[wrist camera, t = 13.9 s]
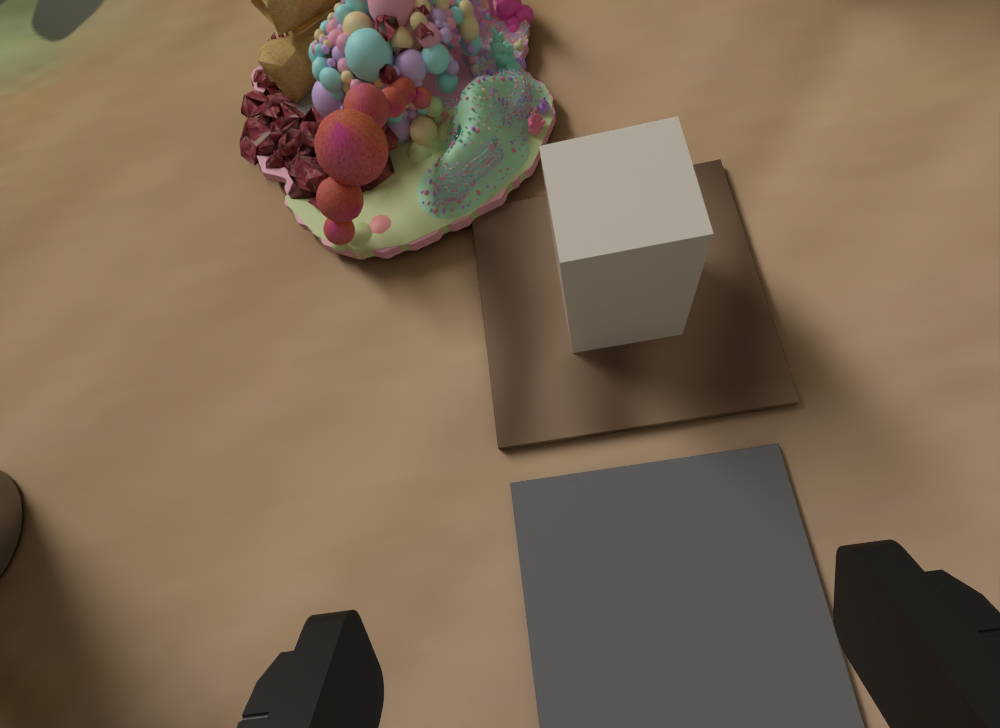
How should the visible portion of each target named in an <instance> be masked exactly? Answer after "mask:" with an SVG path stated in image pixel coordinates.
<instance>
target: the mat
mask: <svg viewBox="0 0 1000 728" xmlns="http://www.w3.org/2000/svg"><path fill="white" fill-rule="evenodd" d="M510 485H511V493H512V501H513V510H514V518H515V526H516V535H517V543H518V551H519V559H520V568H521V576H522V584H523V593H524V601H525V609H526V618H527V626H528V634H529V642H530V651H531V659H532V667H533V676H534V684H535V692H536V701H537V709H538V717H539V726H540V728H865V727H864V723H863V720H862V717H861V714H860V710H859V707H858V704H857V700H856V697H855V694H854V691H853V687H852V684H851V681H850V677H849V674H848V671H847V668H846V664H845V661H844V658H843V654H842V651H841V648H840V645H839V641H838V638H837V635H836V631H835V628H834V625H833V622H832V618H831V615H830V612H829V609H828V605H827V602H826V599H825V595H824V592H823V589H822V586H821V582H820V579H819V576H818V572H817V569H816V566H815V563H814V559H813V556H812V553H811V549H810V546H809V543H808V540H807V536H806V533H805V530H804V526H803V523H802V520H801V517H800V513H799V510H798V507H797V503H796V500H795V497H794V494H793V490H792V487H791V484H790V481H789V477H788V474H787V471H786V467H785V464H784V461H783V458H782V454H781V451H780V448H779V444H773V445H766V446H759V447H753V448H746V449H739V450H732V451H725V452H718V453H712V454H705V455H698V456H691V457H684V458H678V459H671V460H664V461H657V462H650V463H643V464H637V465H630V466H623V467H616V468H609V469H603V470H596V471H589V472H582V473H575V474H568V475H562V476H555V477H548V478H541V479H534V480H528V481H521V482H514V483H510Z"/></svg>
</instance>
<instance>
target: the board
mask: <svg viewBox="0 0 1000 728" xmlns="http://www.w3.org/2000/svg"><path fill="white" fill-rule="evenodd" d="M693 168H694V171H695V174H696V177H697V181H698V184H699V187H700V191H701V194H702V197H703V200H704V204H705V207H706V210H707V214H708V217H709V220H710V224H711V227H712V230H713V233H714V234H713V237H712V241H711V244H710V247H709V250H708V254H707V257H706V260H705V263H704V267H703V270H702V273H701V276H700V279H699V283H698V286H697V289H696V292H695V296H694V299H693V302H692V305H691V309H690V312H689V315H688V318H687V322H686V325H685V328H684V331H683V334H682V335H676V336H670V337H664V338H659V339H653V340H647V341H641V342H635V343H629V344H623V345H618V346H612V347H606V348H600V349H594V350H588V351H582V352H577V353H572V347H571V341H570V336H569V330H568V324H567V319H566V313H565V307H564V302H563V296H562V290H561V285H560V279H559V273H558V268H557V262H556V255H555V249H554V242H553V235H552V229H551V222H550V216H549V209H548V202H547V196H546V195H543V196H539V197H534V198H529V199H524V200H519V201H514V202H509V203H504V204H503V205H502V206H499V207H496V208H495V209H493V210H491V211H489V212H486V213H484V214H483V215H481V216H478V217H476V218H475V219H474V220H473V221H472V225H473V233H474V242H475V251H476V259H477V268H478V277H479V286H480V294H481V303H482V312H483V320H484V329H485V338H486V346H487V355H488V364H489V372H490V381H491V390H492V398H493V407H494V416H495V424H496V433H497V442H498V448H499V450H506V449H512V448H519V447H525V446H532V445H538V444H545V443H551V442H558V441H564V440H571V439H577V438H584V437H590V436H597V435H603V434H610V433H616V432H623V431H629V430H636V429H642V428H649V427H655V426H662V425H668V424H675V423H681V422H688V421H694V420H701V419H707V418H714V417H720V416H727V415H733V414H740V413H746V412H753V411H759V410H766V409H772V408H779V407H785V406H792V405H797V404H798V403H799V402H800V400H799V397H798V394H797V391H796V388H795V385H794V382H793V379H792V376H791V373H790V370H789V367H788V364H787V361H786V358H785V355H784V352H783V348H782V345H781V342H780V339H779V336H778V333H777V330H776V327H775V324H774V321H773V318H772V315H771V312H770V309H769V306H768V303H767V300H766V297H765V294H764V291H763V288H762V285H761V282H760V279H759V275H758V272H757V269H756V266H755V263H754V260H753V257H752V254H751V251H750V248H749V245H748V242H747V239H746V236H745V233H744V230H743V227H742V224H741V221H740V218H739V215H738V212H737V209H736V205H735V202H734V199H733V196H732V193H731V190H730V187H729V184H728V181H727V178H726V175H725V172H724V169H723V166H722V163H721V160H715V161H710V162H705V163H700V164H695V165H693Z"/></svg>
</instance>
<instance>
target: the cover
mask: <svg viewBox="0 0 1000 728" xmlns="http://www.w3.org/2000/svg"><path fill="white" fill-rule="evenodd" d="M539 149H540V156H541V163H542V169H543V176H544V182H545V189H546V196H547V202H548V209H549V216H550V222H551V229H552V235H553V242H554V249H555V255H556V262H557V268H558V273H559V279H560V285H561V290H562V296H563V302H564V307H565V313H566V319H567V324H568V330H569V336H570V341H571V347H572V353H577V352H582V351H588V350H594V349H600V348H606V347H612V346H618V345H623V344H629V343H635V342H641V341H647V340H653V339H659V338H664V337H670V336H676V335H682V334H683V331H684V328H685V325H686V322H687V318H688V315H689V312H690V309H691V305H692V302H693V299H694V296H695V292H696V289H697V286H698V283H699V279H700V276H701V273H702V270H703V267H704V263H705V260H706V257H707V254H708V250H709V247H710V244H711V241H712V237H713V234H714V233H713V230H712V227H711V224H710V220H709V217H708V214H707V210H706V207H705V204H704V200H703V197H702V194H701V191H700V187H699V184H698V181H697V177H696V174H695V171H694V168H693V164H692V161H691V158H690V154H689V151H688V148H687V144H686V141H685V138H684V135H683V131H682V128H681V125H680V121H679V118H678V116H677V117H672V118H668V119H663V120H658V121H654V122H649V123H644V124H640V125H635V126H630V127H626V128H621V129H616V130H612V131H607V132H602V133H598V134H593V135H588V136H584V137H579V138H574V139H570V140H565V141H560V142H556V143H551V144H546V145H542V146H539Z"/></svg>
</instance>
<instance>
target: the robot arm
mask: <svg viewBox="0 0 1000 728" xmlns="http://www.w3.org/2000/svg"><path fill="white" fill-rule="evenodd" d="M22 514H23V512H22V503H21V497H20V494H19V492H18V489H17V486H16V485H15V484H14V482H13V481H12V480H11V478H10V477H9V476H7V475H6V474H5V473H3V472H2V471H1V470H0V576H1V574H2V573H3V571H4V569H5V568H6V566H7V565H8V563H9V561H10V559H11V557H12V555H13V552H14V550H15V548H16V545H17V542H18V539H19V535H20V531H21V525H22ZM833 617H834V624H835V628H836V632H837V635H838V638H839V641H840V644H841V646H842V648H843V650H844V652H845V654H846V656H847V658H848V660H849V661H850V663H851V665H852V666H853V668H854V670H855V671H856V673H857V674H858V676H859V678H860V679H861V681H862V683H863V684H864V686H865V688H866V689H867V691H868V692H869V694H870V696H871V697H872V699H873V701H874V702H875V704H876V706H877V707H878V709H879V710H880V712H881V714H882V715H883V717H884V719H885V720H886V722H887V724H888V725H889V727H890V728H1000V612H999V611H998V610H997V609H996V608H995V607H994V606H993V605H992V604H991V603H990V602H989V601H988V600H987V599H986V598H985V597H984V596H983V595H982V594H981V593H979V592H977V591H976V590H974V589H972V588H971V587H969V586H968V585H966V584H964V583H963V582H961V581H959V580H958V579H956V578H955V577H953V576H951V575H950V574H948V573H947V572H945V571H943V570H935V571H927V572H924V571H923V569H922V568H921V567H920V566H919V565H918V564H917V563H916V562H915V560H914V559H913V558H912V557H911V556H910V555H909V554H908V553H907V551H906V550H905V549H904V548H903V547H902V546H901V545H900V544H899V543H897V542H896V541H894V540H890V539H889V540H882V541H874V542H867V543H859V544H852V545H845V546H840V547H839V548H838V550H837V553H836V568H835V588H834V608H833ZM383 701H384V683H383V675H382V670H381V667H380V665H379V662H378V660H377V657H376V655H375V652H374V650H373V647H372V645H371V642H370V640H369V637H368V635H367V632H366V630H365V628H364V625H363V623H362V620H361V618H360V616H359V614H358V612H357V611H355V610H348V611H340V612H333V613H326V614H318V615H312V616H310V617H309V618H308V619H307V621H306V622H305V625H304V627H303V629H302V632H301V634H300V637H299V639H298V642H297V644H296V647H295V649H294V651H289V652H281V653H280V654H279V655H278V657H277V658H276V659H275V660H274V662H273V663H272V664H271V665H270V666H269V668H268V669H267V670H266V671H265V673H264V674H263V675H262V676H261V678H260V679H259V680H258V681H257V683H256V685H255V687H254V690H253V692H252V694H251V696H250V699H249V701H248V703H247V705H246V708H245V710H244V712H243V714H242V716H243V719H242V721H241V722H239V723H238V726H237V728H378V727H379V722H380V718H381V713H382V708H383Z"/></svg>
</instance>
